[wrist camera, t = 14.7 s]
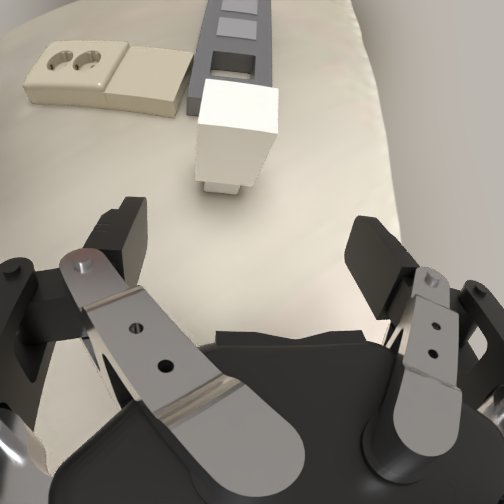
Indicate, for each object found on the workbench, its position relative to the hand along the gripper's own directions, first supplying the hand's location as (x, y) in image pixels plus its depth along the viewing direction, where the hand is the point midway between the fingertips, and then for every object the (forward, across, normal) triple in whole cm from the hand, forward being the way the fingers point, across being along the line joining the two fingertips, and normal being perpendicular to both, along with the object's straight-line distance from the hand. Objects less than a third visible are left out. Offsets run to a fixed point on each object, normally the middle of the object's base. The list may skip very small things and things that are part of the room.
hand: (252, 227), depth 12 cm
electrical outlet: (+26, +14, -3) cm, 29 cm away
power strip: (+31, 0, -10) cm, 33 cm away
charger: (+17, 0, +5) cm, 18 cm away
